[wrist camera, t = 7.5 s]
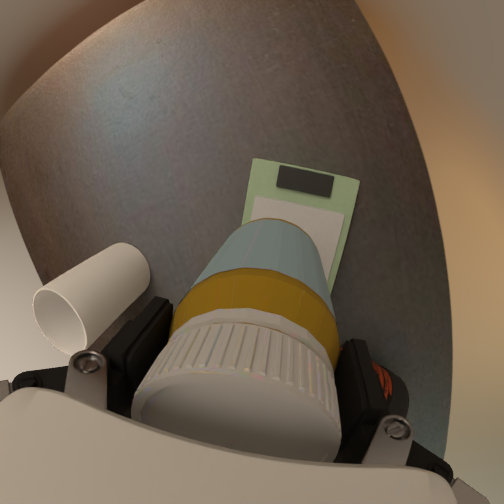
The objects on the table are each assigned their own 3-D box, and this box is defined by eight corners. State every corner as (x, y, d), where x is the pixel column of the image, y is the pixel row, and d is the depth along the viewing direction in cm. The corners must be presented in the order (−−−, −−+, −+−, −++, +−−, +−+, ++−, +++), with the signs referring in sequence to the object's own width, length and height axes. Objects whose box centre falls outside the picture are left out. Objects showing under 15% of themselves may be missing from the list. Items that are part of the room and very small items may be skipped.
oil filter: (352, 328, 39) (371, 392, 27) (404, 365, 40) (428, 424, 28) (294, 383, 43) (291, 448, 31) (347, 412, 44) (355, 472, 32)
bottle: (308, 205, 20) (346, 331, 5) (327, 298, 21) (358, 485, 7) (209, 229, 21) (76, 361, 7) (237, 315, 23) (176, 490, 9)
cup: (99, 242, 40) (24, 283, 25) (147, 243, 39) (75, 292, 24) (108, 292, 42) (44, 347, 27) (153, 298, 41) (95, 363, 26)
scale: (255, 157, 34) (252, 157, 31) (355, 179, 33) (361, 181, 30) (234, 282, 39) (229, 293, 36) (324, 300, 38) (326, 312, 35)
